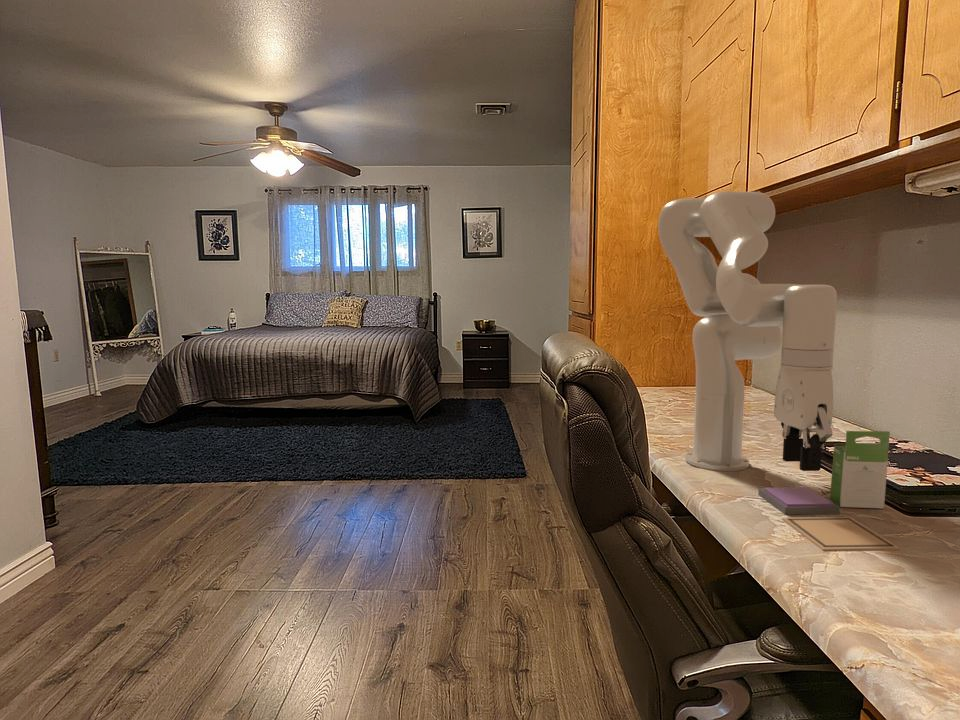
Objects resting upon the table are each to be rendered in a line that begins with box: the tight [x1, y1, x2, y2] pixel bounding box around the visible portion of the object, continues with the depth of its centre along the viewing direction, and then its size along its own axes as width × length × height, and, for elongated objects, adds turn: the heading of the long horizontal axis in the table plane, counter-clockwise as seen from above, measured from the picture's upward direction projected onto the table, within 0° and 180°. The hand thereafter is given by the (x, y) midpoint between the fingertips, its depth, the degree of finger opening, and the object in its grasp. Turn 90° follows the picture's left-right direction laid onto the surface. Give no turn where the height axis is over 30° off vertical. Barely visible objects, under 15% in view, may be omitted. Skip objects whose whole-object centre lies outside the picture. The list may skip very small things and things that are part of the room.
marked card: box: [781, 516, 901, 552], centre depth 87 cm, size 11×11×1 cm
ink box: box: [829, 430, 891, 510], centre depth 98 cm, size 7×4×13 cm, turn 81°
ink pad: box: [757, 486, 841, 515], centre depth 99 cm, size 9×9×2 cm
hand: (801, 464), depth 98 cm, fingers open, 4 cm apart
